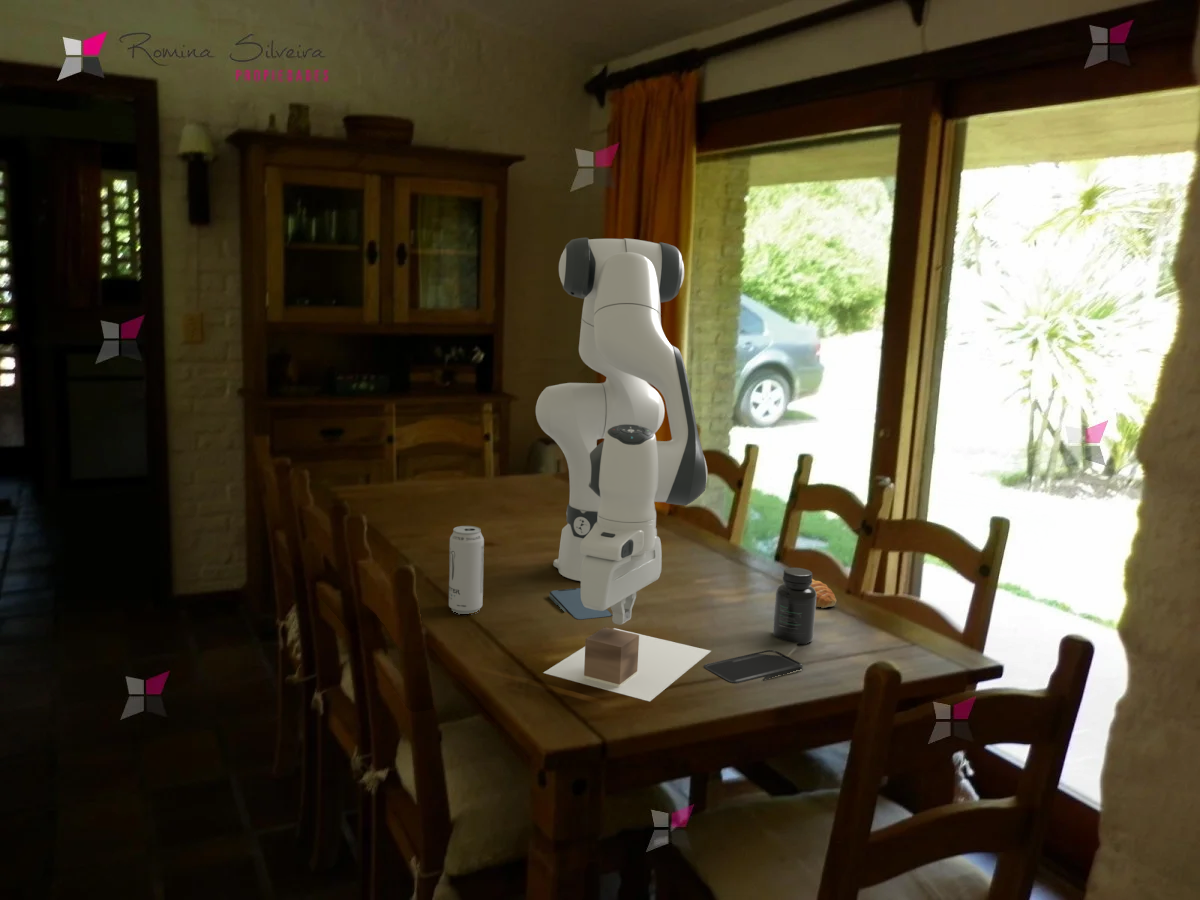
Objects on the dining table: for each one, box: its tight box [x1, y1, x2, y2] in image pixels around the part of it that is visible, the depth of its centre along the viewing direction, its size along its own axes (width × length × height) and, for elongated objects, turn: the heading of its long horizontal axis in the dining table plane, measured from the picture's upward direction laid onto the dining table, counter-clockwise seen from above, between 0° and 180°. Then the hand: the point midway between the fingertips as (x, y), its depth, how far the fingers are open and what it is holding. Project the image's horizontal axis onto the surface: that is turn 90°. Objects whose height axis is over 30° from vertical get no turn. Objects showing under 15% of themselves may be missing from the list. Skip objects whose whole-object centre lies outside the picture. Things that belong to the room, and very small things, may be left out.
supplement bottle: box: [772, 567, 817, 646], centre depth 169 cm, size 7×7×12 cm
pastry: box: [810, 578, 837, 609], centre depth 190 cm, size 9×7×4 cm
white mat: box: [542, 627, 712, 702], centre depth 155 cm, size 23×18×1 cm
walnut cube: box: [584, 626, 639, 687], centre depth 149 cm, size 6×6×6 cm
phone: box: [703, 649, 804, 684], centre depth 155 cm, size 8×1×15 cm
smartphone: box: [549, 587, 613, 621], centre depth 180 cm, size 8×2×15 cm
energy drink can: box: [448, 525, 485, 615], centre depth 175 cm, size 6×6×15 cm
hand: (621, 621), depth 150 cm, fingers closed
